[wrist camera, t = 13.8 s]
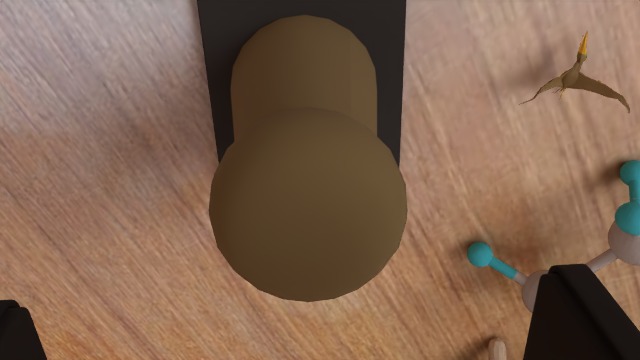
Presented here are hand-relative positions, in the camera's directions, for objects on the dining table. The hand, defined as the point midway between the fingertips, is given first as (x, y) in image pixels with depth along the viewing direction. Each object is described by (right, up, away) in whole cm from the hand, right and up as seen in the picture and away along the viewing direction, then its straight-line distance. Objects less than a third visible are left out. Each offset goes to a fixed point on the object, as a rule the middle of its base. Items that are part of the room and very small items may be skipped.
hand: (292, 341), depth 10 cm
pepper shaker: (0, +7, +13) cm, 14 cm away
